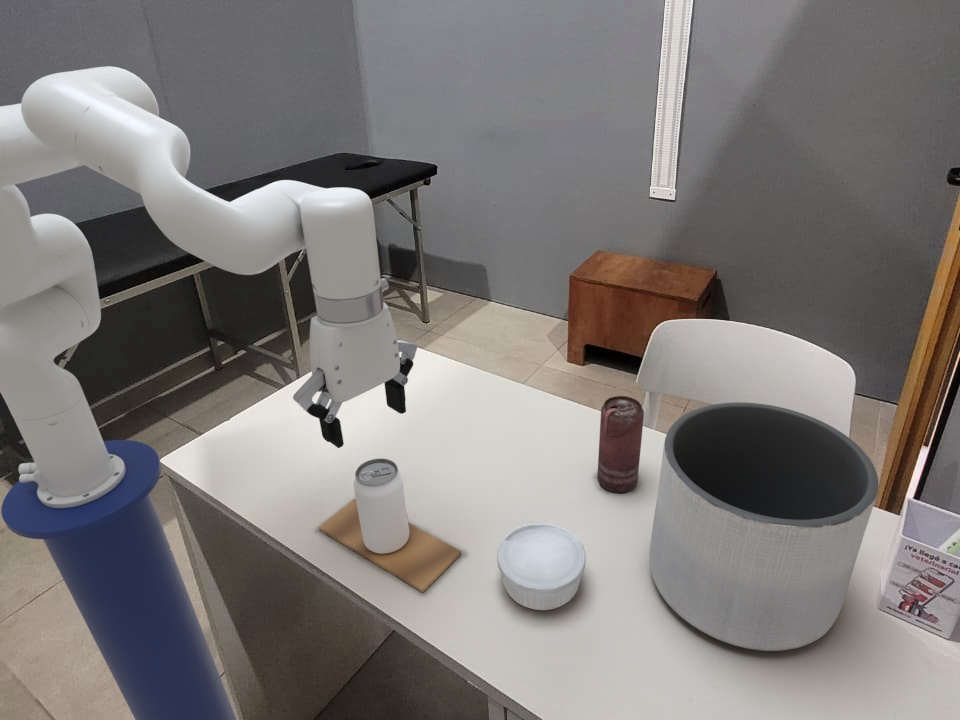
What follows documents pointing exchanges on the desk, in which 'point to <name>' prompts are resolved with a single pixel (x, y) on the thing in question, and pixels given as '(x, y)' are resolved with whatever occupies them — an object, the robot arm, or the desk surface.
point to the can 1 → (381, 506)
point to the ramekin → (541, 565)
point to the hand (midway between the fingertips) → (366, 425)
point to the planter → (759, 523)
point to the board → (409, 563)
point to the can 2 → (620, 443)
